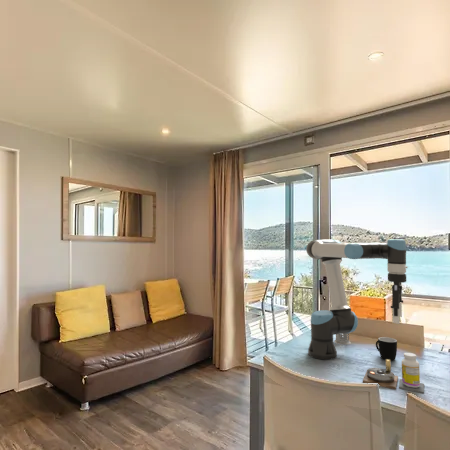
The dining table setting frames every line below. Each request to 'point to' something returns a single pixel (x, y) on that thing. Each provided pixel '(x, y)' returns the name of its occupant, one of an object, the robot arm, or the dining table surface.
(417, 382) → the supplement bottle
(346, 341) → the french press
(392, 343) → the mug
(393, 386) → the base
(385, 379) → the dark disc with post
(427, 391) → the dining table surface
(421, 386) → the pad
